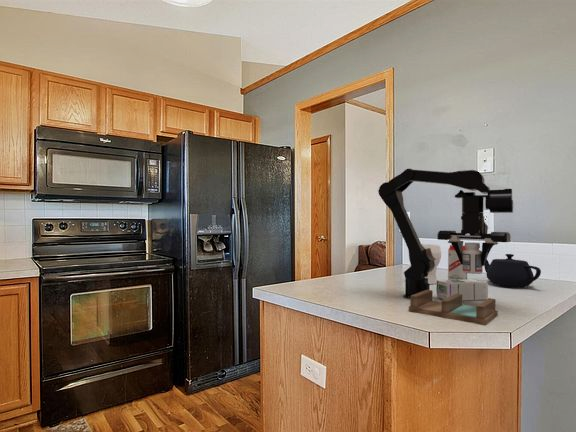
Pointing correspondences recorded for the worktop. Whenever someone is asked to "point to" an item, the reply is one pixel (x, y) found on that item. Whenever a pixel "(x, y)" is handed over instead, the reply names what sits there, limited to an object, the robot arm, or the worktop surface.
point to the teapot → (511, 272)
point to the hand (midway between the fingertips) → (472, 265)
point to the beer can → (455, 265)
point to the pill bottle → (472, 259)
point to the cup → (437, 255)
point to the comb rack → (453, 308)
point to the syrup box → (463, 289)
